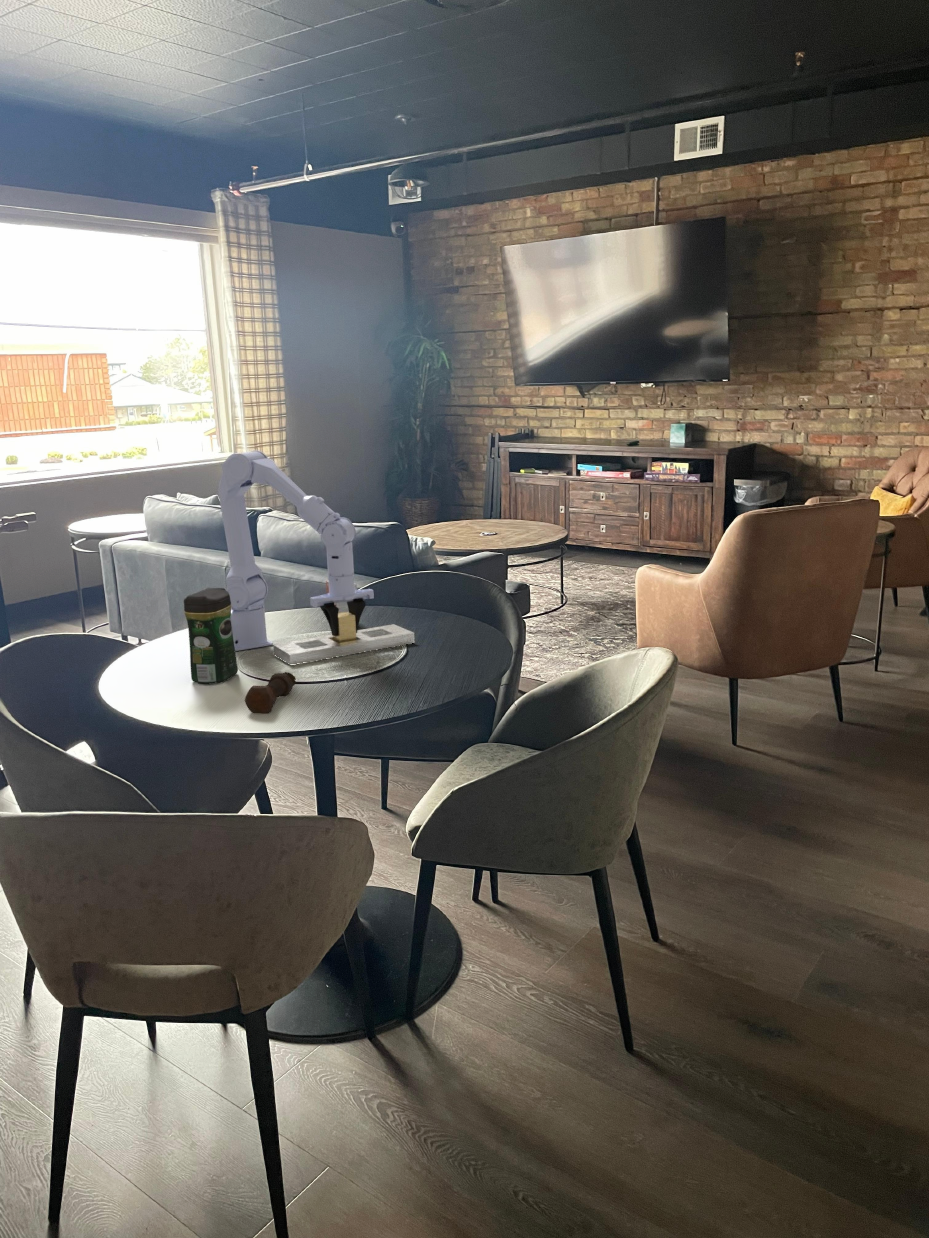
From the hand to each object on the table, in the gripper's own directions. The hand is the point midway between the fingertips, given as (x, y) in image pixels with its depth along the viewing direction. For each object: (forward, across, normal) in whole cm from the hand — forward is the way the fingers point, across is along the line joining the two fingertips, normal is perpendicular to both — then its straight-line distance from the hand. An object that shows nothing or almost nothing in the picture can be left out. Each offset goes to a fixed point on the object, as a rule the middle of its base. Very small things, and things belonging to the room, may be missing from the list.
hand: (344, 633), depth 205 cm
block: (+2, 0, 0) cm, 2 cm away
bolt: (+4, -26, -24) cm, 36 cm away
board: (+4, 0, 0) cm, 4 cm away
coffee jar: (+4, -31, -4) cm, 31 cm away
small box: (+4, +10, +23) cm, 25 cm away
